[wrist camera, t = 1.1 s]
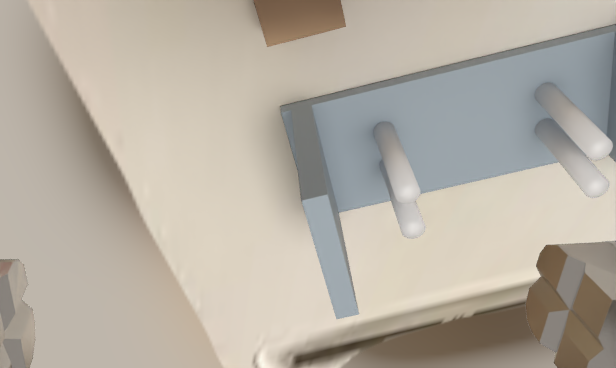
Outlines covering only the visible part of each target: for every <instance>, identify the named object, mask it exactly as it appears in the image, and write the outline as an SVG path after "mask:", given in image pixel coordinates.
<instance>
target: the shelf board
mask: <svg viewBox="0 0 616 368" xmlns="http://www.w3.org/2000/svg"><path fill="white" fill-rule="evenodd" d="M254 4H255V7H256V10H257V14H258V17H259V21H260V24H261V27H262V31H263V34H264V37H265V41H266V44H267V47H269V46H273V45H277V44H281V43H285V42H289V41H292V40H296V39H300V38H304V37H308V36H312V35H315V34H319V33H323V32H327V31H331V30H335V29H339V28H342V27H346V24H345V19H344V15H343V10H342V5H341V0H254Z"/></svg>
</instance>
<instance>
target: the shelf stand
mask: <svg viewBox="0 0 616 368" xmlns="http://www.w3.org/2000/svg"><path fill="white" fill-rule="evenodd" d="M280 107H281V115H282V118H283V121H284V125H285V128H286V132H287V135H288V139H289V142H290V146H291V149H292V152H293V156H294V159H295V163H296V166H297V170H298V175H299V184H300V192H301V201H302V204H303V208H304V211H305V214H306V218H307V221H308V224H309V228H310V231H311V235H312V238H313V241H314V245H315V248H316V251H317V255H318V258H319V262H320V265H321V268H322V272H323V275H324V278H325V282H326V285H327V289H328V292H329V295H330V299H331V302H332V305H333V309H334V312H335V316H336V319H340V318H344V317H349V316H353V315H358V314H359V312H358V307H357V302H356V297H355V292H354V287H353V282H352V277H351V272H350V267H349V262H348V257H347V252H346V247H345V242H344V237H343V232H342V227H341V222H340V217H339V212H344V211H348V210H352V209H357V208H361V207H365V206H370V205H374V204H378V203H383V202H387V201H391V202H392V205H393V208H394V211H395V214H396V217H397V220H398V223H399V226H400V229H401V232H402V234H403V236H404V237H406V238H410V239H414V238H417V237H419V236H421V235H422V234H423V233H424V232H425V228H426V227H425V224H424V221H423V218H422V216H421V213H420V211H419V208H418V206H417V203H416V201H415V200H417V199H418V197H419V195H420V194H422V193H426V192H431V191H435V190H439V189H444V188H448V187H452V186H457V185H461V184H465V183H470V182H474V181H479V180H483V179H487V178H492V177H496V176H500V175H505V174H509V173H513V172H518V171H522V170H526V169H531V168H535V167H539V166H544V165H548V164H553V163H557V162H559V163H560V164H561V165H562V166H563V168H564V169H565V170H566V171H567V173H568V174H569V175H570V176H571V178H572V179H573V180H574V181H575V182H576V184H577V185H578V186H579V187H580V189H581V190H582V191H583V192H584V194H585V195H586V196H587V197H590V198H596V197H599V196H601V195H603V194H604V193H605V192H606V191H607V190H608V188H609V181H608V180H607V179H606V177H605V176H604V175H603V174H602V173H601V172H600V171H599V170H598V169H597V167H596V166H595V165H594V164H593V163H592V162H591V161H590V160H589V159H588V158H590V159H591V160H600V159H603V158H605V157H606V156H607V155H609V156H610V157H611V158H612V159H613V160H614V161H615V162H616V25H612V26H608V27H603V28H599V29H595V30H591V31H587V32H583V33H579V34H575V35H571V36H567V37H562V38H558V39H554V40H550V41H546V42H542V43H538V44H534V45H530V46H526V47H521V48H517V49H513V50H509V51H505V52H501V53H497V54H493V55H489V56H485V57H480V58H476V59H472V60H468V61H464V62H460V63H456V64H452V65H448V66H444V67H439V68H435V69H431V70H427V71H423V72H419V73H415V74H411V75H407V76H403V77H398V78H394V79H390V80H386V81H382V82H378V83H374V84H370V85H366V86H362V87H357V88H353V89H349V90H345V91H341V92H337V93H333V94H329V95H325V96H321V97H316V98H312V99H308V100H304V101H300V102H296V103H292V104H288V105H284V106H280ZM587 156H588V157H587Z"/></svg>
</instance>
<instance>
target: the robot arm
mask: <svg viewBox="0 0 616 368" xmlns="http://www.w3.org/2000/svg"><path fill="white" fill-rule="evenodd" d="M536 267H537V269H538V271H539V273H540V275H541V277H540V278H539V279H538V280H537V281H536V282H535V283H534V284H533V285H532V286H531V287H530V288H529V292H528V296H527V300H526V304H525V305H526V315H527V322H528V324H529V327H530V329H531V332H532V333H533V335H534V336H535V338H536V339H537V340H538V342H539V343H540V344H542V345H543V346H545V347H547V348H549V349H550V350H552V351H554V352H555V357H554V364H555V365H556V366H557V368H616V241H605V242H595V243H575V244H555V245H546V246H545V247H544V249H543V250H542V251H541V253H540V255H539V258H538V261H537V264H536ZM27 286H28V281H27V276H26V272H25V268H24V264H23V263H22V262H21V261H20V260H19V259H5V260H4V259H0V368H30V365H31V362H32V359H33V351H34V345H35V320H34V314H33V309H32V308H31V307H30V306H28V305H27V304H26V303H25V302H24V301H23V300H22V297H23V295H24V293H25V290H26V288H27Z"/></svg>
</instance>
